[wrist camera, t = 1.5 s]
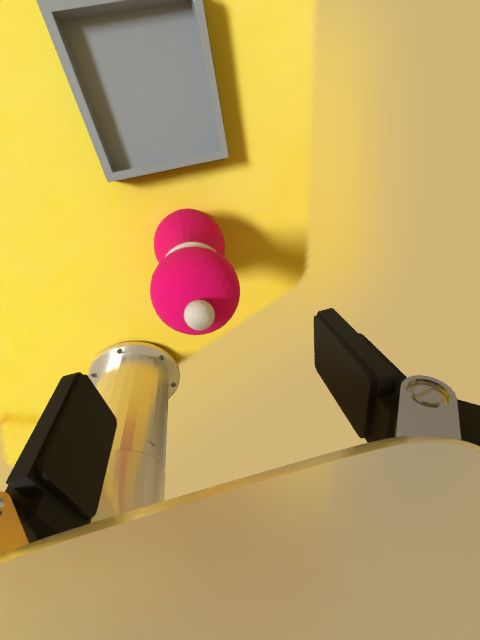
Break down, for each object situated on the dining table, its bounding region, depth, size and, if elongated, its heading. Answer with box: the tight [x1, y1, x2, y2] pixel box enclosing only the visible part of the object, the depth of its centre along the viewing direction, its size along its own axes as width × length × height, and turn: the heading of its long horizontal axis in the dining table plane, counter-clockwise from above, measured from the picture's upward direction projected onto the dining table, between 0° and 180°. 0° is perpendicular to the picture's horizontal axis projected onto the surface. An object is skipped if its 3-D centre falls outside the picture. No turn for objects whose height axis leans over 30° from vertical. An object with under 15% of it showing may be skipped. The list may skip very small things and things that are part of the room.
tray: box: [37, 0, 229, 182], centre depth 24 cm, size 12×12×2 cm
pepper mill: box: [150, 209, 240, 335], centre depth 23 cm, size 7×7×20 cm
